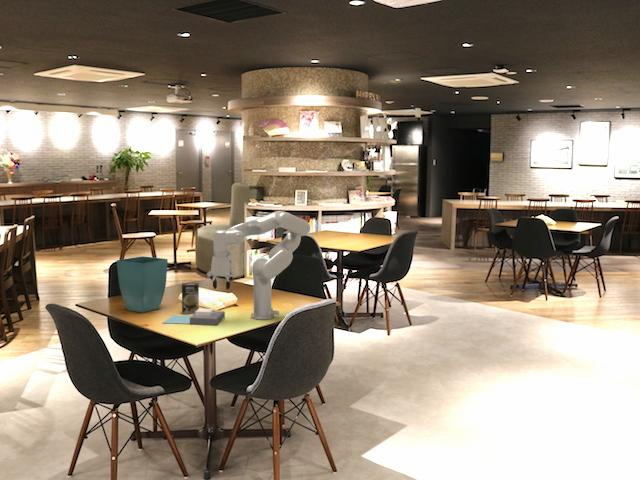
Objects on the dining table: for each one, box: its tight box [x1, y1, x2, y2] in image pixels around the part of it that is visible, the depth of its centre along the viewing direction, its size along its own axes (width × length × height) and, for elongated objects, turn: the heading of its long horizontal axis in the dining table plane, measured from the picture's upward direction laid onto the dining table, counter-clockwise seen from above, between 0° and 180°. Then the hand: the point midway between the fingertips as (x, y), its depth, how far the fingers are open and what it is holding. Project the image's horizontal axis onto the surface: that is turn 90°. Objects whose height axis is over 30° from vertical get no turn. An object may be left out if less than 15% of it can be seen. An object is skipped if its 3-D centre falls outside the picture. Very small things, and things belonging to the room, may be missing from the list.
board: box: [189, 310, 226, 326], centre depth 329 cm, size 14×16×4 cm
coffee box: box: [181, 282, 200, 315], centre depth 346 cm, size 9×6×16 cm
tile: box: [195, 308, 215, 316], centre depth 329 cm, size 8×7×2 cm
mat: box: [162, 314, 192, 325], centre depth 331 cm, size 14×16×1 cm
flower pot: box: [116, 255, 169, 313], centre depth 351 cm, size 20×20×28 cm
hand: (221, 288), depth 327 cm, fingers open, 5 cm apart
